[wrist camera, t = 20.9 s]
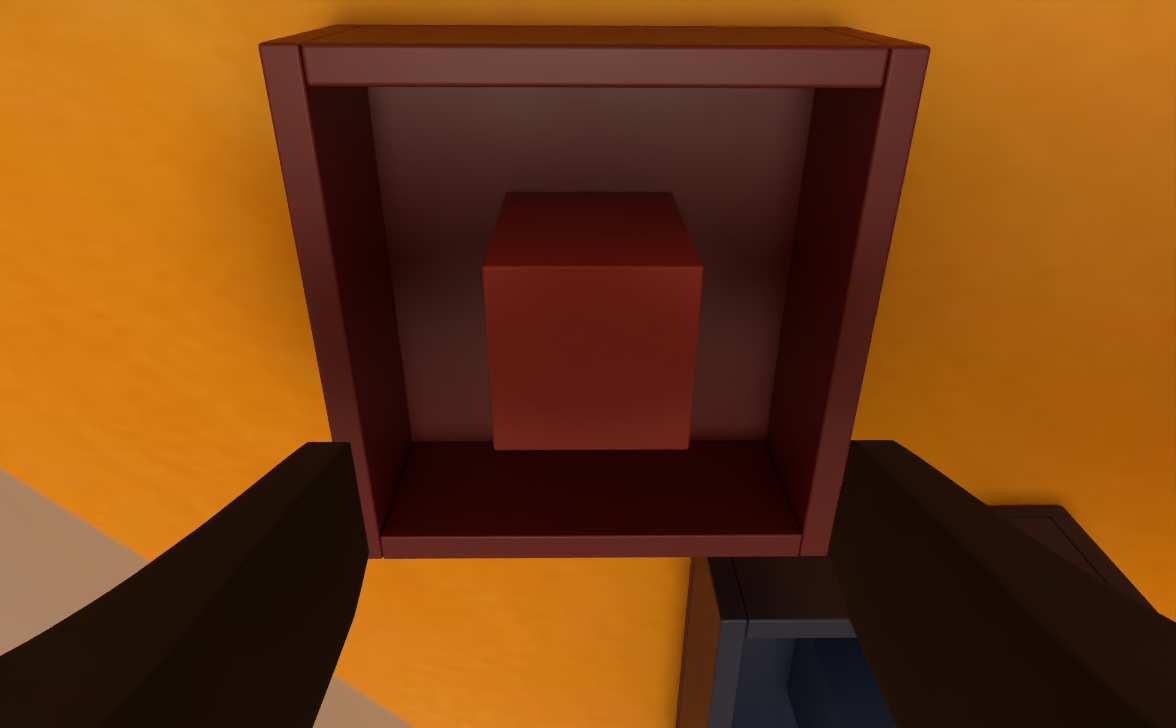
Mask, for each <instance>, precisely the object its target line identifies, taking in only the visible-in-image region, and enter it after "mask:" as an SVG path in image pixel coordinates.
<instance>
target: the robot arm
mask: <svg viewBox="0 0 1176 728" xmlns="http://www.w3.org/2000/svg"><path fill="white" fill-rule="evenodd" d="M828 550H829V553H830V557H831V561H832V565H833V568H834V572H835V576H836V579H837V583H838V586H839V590H840V593H841V596H842V600H843V603H844V606H845V610H846V613H847V615H848V617H849V620H850V622H851V625H852V627H853V629H854V632H855V634H856V636H857V639H858V641H859V643H860V646H861V648H862V650H863V653H864V655H865V657H866V659H867V662H868V664H869V666H870V669H871V671H872V673H873V675H874V678H875V680H876V682H877V684H878V687H879V689H880V691H881V694H882V696H883V698H884V700H885V703H886V705H887V707H888V709H889V712H890V714H891V716H892V718H893V721H894V723H895V725H896V727H897V728H1176V622H1174V621H1172V620H1170V619H1168V618H1167V617H1165V616H1163V615H1161V614H1159V613H1157V612H1156V611H1154V610H1152V609H1150V608H1148V607H1147V606H1145V605H1143V604H1141V603H1139V602H1137V601H1136V600H1134V599H1132V598H1130V597H1128V596H1127V595H1125V594H1123V593H1122V592H1120V591H1118V590H1116V589H1115V588H1113V587H1111V586H1110V585H1108V584H1106V583H1104V582H1103V581H1101V580H1099V579H1098V578H1096V577H1095V576H1093V575H1091V574H1090V573H1088V572H1087V571H1085V570H1083V569H1082V568H1080V567H1079V566H1077V565H1076V564H1074V563H1072V562H1071V561H1069V560H1068V559H1066V558H1064V557H1063V556H1061V555H1060V554H1058V553H1056V552H1055V551H1053V550H1052V549H1050V548H1049V547H1047V546H1046V545H1044V544H1043V543H1041V542H1040V541H1038V540H1037V539H1035V538H1034V537H1032V536H1031V535H1029V534H1028V533H1026V532H1025V531H1023V530H1022V529H1020V528H1019V527H1017V526H1016V525H1014V524H1013V523H1011V522H1010V521H1008V520H1007V519H1006V518H1004V517H1003V516H1001V515H1000V514H998V513H997V512H995V511H994V510H993V509H991V508H990V507H988V506H987V505H986V504H984V503H983V502H981V501H980V500H978V499H977V498H976V497H974V496H973V495H971V494H970V493H969V492H967V491H966V490H964V489H963V488H962V487H960V486H959V485H957V484H956V483H955V482H953V481H952V480H950V479H949V478H948V477H946V476H945V475H944V474H942V473H941V472H939V471H938V470H937V469H935V468H934V467H932V466H931V465H929V464H928V463H927V462H925V461H924V460H922V459H921V458H920V457H918V456H917V455H915V454H914V453H912V452H911V451H909V450H908V449H906V448H905V447H903V446H901V445H900V444H898V443H897V442H895V441H893V440H851V442H850V446H849V451H848V456H847V461H846V466H845V471H844V476H843V481H842V485H841V490H840V495H839V500H838V505H837V510H836V515H835V520H834V524H833V529H832V534H831V539H830V544H829V549H828ZM368 556H369V547H368V541H367V535H366V530H365V524H364V518H363V512H362V507H361V501H360V495H359V489H358V484H357V478H356V472H355V466H354V461H353V455H352V449H351V443H350V442H307V443H306V444H304V445H303V446H302V447H300V448H299V449H297V450H296V451H295V452H293V453H292V454H291V455H290V456H288V457H287V458H286V459H285V460H283V461H282V462H281V463H279V464H278V465H277V466H276V467H275V468H273V469H272V470H271V471H270V472H268V473H267V474H266V475H265V476H263V477H262V478H261V479H260V480H258V481H257V482H256V483H255V484H253V485H252V486H251V487H250V488H248V489H247V490H246V491H245V492H243V493H242V494H241V495H240V496H238V497H237V498H236V499H235V500H233V501H232V502H231V503H230V504H228V505H227V506H226V507H224V508H223V509H222V510H221V511H219V512H218V513H217V514H216V515H214V516H213V517H212V518H210V519H209V520H208V521H207V522H205V523H204V524H203V525H202V526H200V527H199V528H198V529H196V530H195V531H193V532H192V533H191V534H189V535H188V536H187V537H185V538H184V539H182V540H181V541H180V542H178V543H177V544H175V545H174V546H173V547H171V548H170V549H169V550H167V551H166V552H164V553H163V554H162V555H160V556H159V557H157V558H156V559H155V560H153V561H152V562H151V563H149V564H148V565H146V566H145V567H144V568H142V569H141V570H139V571H138V572H137V573H135V574H134V575H133V576H131V577H130V578H128V579H127V580H125V581H124V582H122V583H121V584H119V585H118V586H116V587H115V588H113V589H112V590H111V591H109V592H107V593H106V594H104V595H102V596H101V597H99V598H98V599H96V600H95V601H93V602H92V603H90V604H89V605H87V606H85V607H84V608H82V609H80V610H79V611H77V612H75V613H74V614H72V615H71V616H69V617H67V618H66V619H64V620H62V621H61V622H59V623H58V624H56V625H54V626H53V627H51V628H49V629H48V630H46V631H44V632H42V633H41V634H39V635H37V636H36V637H34V638H32V639H30V640H29V641H27V642H25V643H23V644H21V645H20V646H18V647H16V648H14V649H12V650H11V651H9V652H7V653H5V654H3V655H1V656H0V728H313V725H314V722H315V720H316V717H317V715H318V712H319V709H320V707H321V704H322V701H323V699H324V696H325V694H326V691H327V688H328V685H329V683H330V680H331V678H332V675H333V672H334V670H335V667H336V665H337V662H338V659H339V656H340V654H341V651H342V648H343V646H344V643H345V640H346V638H347V635H348V632H349V629H350V627H351V624H352V621H353V618H354V616H355V612H356V607H357V603H358V599H359V595H360V591H361V587H362V583H363V578H364V574H365V569H366V565H367V560H368Z"/></svg>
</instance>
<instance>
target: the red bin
mask: <svg viewBox="0 0 1176 728" xmlns="http://www.w3.org/2000/svg"><path fill="white" fill-rule="evenodd" d="M259 52H260V57H261V63H262V68H263V73H264V79H265V84H266V89H267V95H268V100H269V105H270V111H271V116H272V121H273V127H274V132H275V137H276V143H277V148H278V153H279V159H280V164H281V169H282V175H283V180H284V185H285V191H286V196H287V201H288V207H289V212H290V217H291V223H292V228H293V233H294V239H295V244H296V249H297V255H298V260H299V265H300V271H301V276H302V281H303V287H304V292H305V297H306V303H307V308H308V313H309V319H310V324H311V330H312V335H313V340H314V346H315V351H316V356H317V362H318V367H319V372H320V378H321V383H322V388H323V394H324V399H325V404H326V410H327V415H328V420H329V426H330V431H331V436H332V442H350V443H351V449H352V455H353V461H354V466H355V472H356V478H357V484H358V489H359V495H360V501H361V507H362V512H363V518H364V524H365V530H366V535H367V541H368V547H369V556H368V559H380V558H382V557H384V558H385V559H416V558H598V557H780V556H798V554H799V555H800V556H826V555H827V552H828V547H829V542H830V537H831V533H832V528H833V523H834V518H835V513H836V508H837V503H838V498H839V494H840V489H841V484H842V479H843V474H844V469H845V464H846V459H847V455H848V450H849V445H850V440H851V435H852V430H853V425H854V420H855V415H856V411H857V406H858V401H859V396H860V391H861V386H862V381H863V376H864V372H865V367H866V362H867V357H868V352H869V347H870V342H871V337H872V332H873V328H874V323H875V318H876V313H877V308H878V303H879V298H880V293H881V289H882V284H883V279H884V274H885V269H886V264H887V259H888V254H889V250H890V245H891V240H892V235H893V230H894V225H895V220H896V215H897V210H898V206H899V201H900V196H901V191H902V186H903V181H904V176H905V171H906V167H907V162H908V157H909V152H910V147H911V142H912V137H913V132H914V127H915V123H916V118H917V113H918V108H919V103H920V98H921V93H922V88H923V84H924V79H925V74H926V69H927V64H928V59H929V54H930V47H929V46H927V45H923V44H918V43H914V42H909V41H905V40H900V39H896V38H892V37H887V36H883V35H878V34H874V33H869V32H865V31H860V30H856V29H852V28H847V27H709V26H501V25H332V26H328V27H324V28H320V29H316V30H312V31H308V32H303V33H299V34H295V35H291V36H287V37H283V38H278V39H274V40H270V41H266V42H262V43H260V44H259ZM507 192H597V193H672V194H673V196H674V199H675V201H676V203H677V206H678V208H679V210H680V213H681V215H682V218H683V220H684V222H685V225H686V227H687V229H688V232H689V234H690V237H691V239H692V241H693V244H694V246H695V248H696V251H697V253H698V255H699V258H700V260H701V263H702V265H703V268H704V271H703V283H702V295H701V307H700V319H699V331H698V343H697V355H696V367H695V379H694V391H693V403H692V415H691V428H690V440H689V447H688V449H641V450H495V449H494V445H493V430H492V415H491V399H490V384H489V369H488V354H487V338H486V323H485V308H484V293H483V277H482V266H483V263H484V260H485V257H486V254H487V250H488V247H489V244H490V241H491V238H492V234H493V231H494V228H495V225H496V222H497V219H498V215H499V212H500V209H501V206H502V203H503V199H504V196H505V193H507Z"/></svg>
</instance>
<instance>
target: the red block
mask: <svg viewBox="0 0 1176 728" xmlns="http://www.w3.org/2000/svg"><path fill="white" fill-rule="evenodd" d="M703 271H704V268H703V265H702V263H701V260H700V258H699V255H698V253H697V251H696V248H695V246H694V244H693V241H692V239H691V237H690V234H689V232H688V229H687V227H686V225H685V222H684V220H683V218H682V215H681V213H680V210H679V208H678V206H677V203H676V201H675V199H674V196H673V194H672V193H597V192H507V193H505V196H504V199H503V203H502V206H501V209H500V212H499V215H498V219H497V222H496V225H495V228H494V231H493V234H492V238H491V241H490V244H489V247H488V250H487V254H486V257H485V260H484V263H483V266H482V277H483V293H484V308H485V323H486V338H487V354H488V369H489V384H490V399H491V415H492V430H493V445H494V449H495V450H641V449H688V447H689V440H690V428H691V415H692V403H693V391H694V379H695V367H696V355H697V343H698V331H699V319H700V307H701V295H702V283H703Z"/></svg>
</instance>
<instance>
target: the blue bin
mask: <svg viewBox="0 0 1176 728" xmlns="http://www.w3.org/2000/svg"><path fill="white" fill-rule="evenodd" d="M990 508H991V509H993V510H994V511H995V512H997V513H998V514H1000V515H1001V516H1003V517H1004V518H1006V519H1007V520H1008V521H1010V522H1011V523H1013V524H1014V525H1016V526H1017V527H1019V528H1020V529H1022V530H1023V531H1025V532H1026V533H1028V534H1029V535H1031V536H1032V537H1034V538H1035V539H1037V540H1038V541H1040V542H1041V543H1043V544H1044V545H1046V546H1047V547H1049V548H1050V549H1052V550H1053V551H1055V552H1056V553H1058V554H1060V555H1061V556H1063V557H1064V558H1066V559H1068V560H1069V561H1071V562H1072V563H1074V564H1076V565H1077V566H1079V567H1080V568H1082V569H1083V570H1085V571H1087V572H1088V573H1090V574H1091V575H1093V576H1095V577H1096V578H1098V579H1099V580H1101V581H1103V582H1104V583H1106V584H1108V585H1110V586H1111V587H1113V588H1115V589H1116V590H1118V591H1120V592H1122V593H1123V594H1125V595H1127V596H1128V597H1130V598H1132V599H1134V600H1136V601H1137V602H1139V603H1141V604H1143V605H1145V606H1147V607H1148V608H1150V609H1152V610H1154V611H1156V610H1155V609H1154V607H1153V606H1152V605H1151V604H1150V603H1149V602H1148V601H1147V600H1146V599H1145V597H1144V596H1143V595H1142V594H1141V593H1140V592H1139V591H1138V590H1137V589H1136V587H1135V586H1134V585H1133V584H1132V583H1131V582H1130V581H1129V580H1128V579H1127V577H1126V576H1125V575H1124V574H1123V573H1122V572H1121V571H1120V570H1119V569H1118V567H1117V566H1116V565H1115V564H1114V563H1113V562H1112V561H1111V560H1110V559H1109V557H1108V556H1107V555H1106V554H1105V553H1104V552H1103V551H1102V550H1101V549H1100V547H1099V546H1098V545H1097V544H1096V543H1095V542H1094V541H1093V540H1092V539H1091V537H1090V536H1089V535H1088V534H1087V533H1086V532H1085V531H1084V530H1083V529H1082V527H1081V526H1080V525H1079V524H1078V523H1077V522H1076V521H1075V520H1074V519H1073V518H1072V517H1071V515H1070V514H1069V513H1068V512H1067V511H1066V510H1065V509H1064V507H990ZM836 510H837V508H836ZM835 515H836V513H835ZM834 520H835V518H834ZM833 524H834V523H833ZM832 529H833V528H832ZM831 534H832V533H831ZM830 539H831V537H830ZM829 544H830V542H829ZM828 549H829V547H828ZM1156 612H1157V611H1156ZM1157 613H1158V612H1157ZM797 638H857V636H856V634H855V632H854V629H853V627H852V625H851V622H850V620H849V617H848V615H847V613H846V610H845V606H844V603H843V600H842V596H841V593H840V590H839V586H838V583H837V579H836V576H835V572H834V568H833V565H832V561H831V557H830V553H829V550H828V552H827V555H826V556H800V555H799V554H798V556H780V557H692V559H691V569H690V580H689V591H688V602H687V612H686V623H685V634H684V645H683V655H682V666H681V677H680V688H679V698H678V709H677V720H676V728H798V727H797V724H796V720H795V717H794V713H793V710H792V706H791V703H790V700H789V696H788V693H787V689H788V683H789V678H790V673H791V668H792V663H793V658H794V652H795V647H796V642H797Z"/></svg>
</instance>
